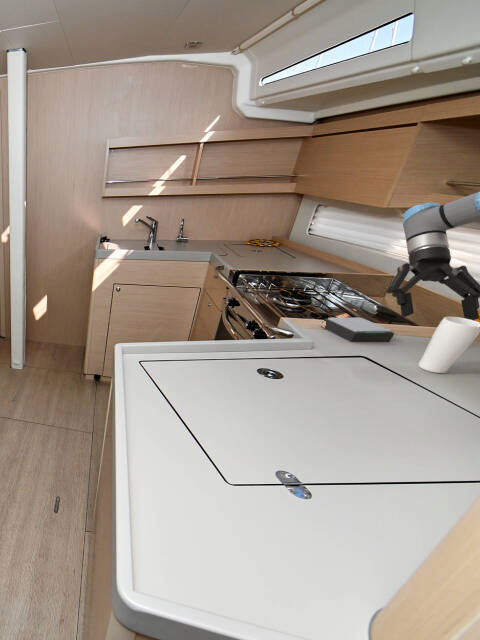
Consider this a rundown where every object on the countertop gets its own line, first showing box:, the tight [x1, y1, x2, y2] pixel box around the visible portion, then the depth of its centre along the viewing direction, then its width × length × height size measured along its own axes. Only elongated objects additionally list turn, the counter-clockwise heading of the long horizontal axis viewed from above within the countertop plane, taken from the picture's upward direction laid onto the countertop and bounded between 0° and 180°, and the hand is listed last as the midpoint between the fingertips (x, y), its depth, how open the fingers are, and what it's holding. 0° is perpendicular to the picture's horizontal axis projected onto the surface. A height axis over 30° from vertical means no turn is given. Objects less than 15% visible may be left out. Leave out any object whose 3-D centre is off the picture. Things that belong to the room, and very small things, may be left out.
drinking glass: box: [417, 316, 480, 374], centre depth 97 cm, size 7×7×15 cm
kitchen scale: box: [323, 317, 395, 343], centre depth 120 cm, size 12×12×4 cm
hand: (439, 317), depth 100 cm, fingers open, 13 cm apart
